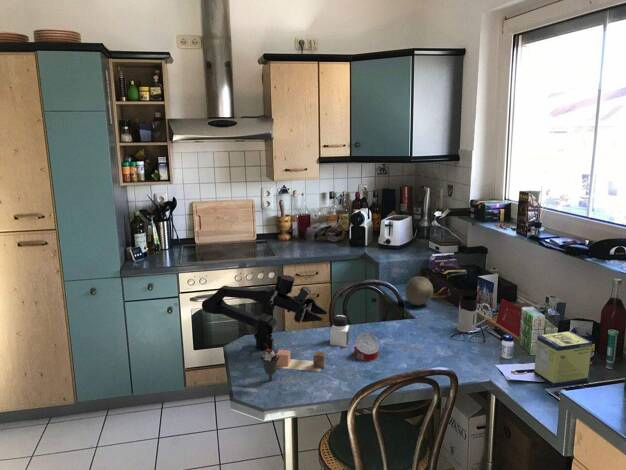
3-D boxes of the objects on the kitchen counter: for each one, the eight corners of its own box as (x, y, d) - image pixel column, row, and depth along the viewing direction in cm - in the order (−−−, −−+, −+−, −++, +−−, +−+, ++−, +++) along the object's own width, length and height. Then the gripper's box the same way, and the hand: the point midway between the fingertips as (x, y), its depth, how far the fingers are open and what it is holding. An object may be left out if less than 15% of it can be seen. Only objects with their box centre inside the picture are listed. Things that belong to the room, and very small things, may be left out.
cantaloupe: (404, 308, 261) (405, 280, 258) (404, 299, 275) (405, 272, 272) (433, 310, 259) (434, 281, 256) (431, 301, 273) (433, 274, 269)
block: (276, 365, 197) (276, 354, 196) (279, 360, 201) (278, 349, 200) (287, 366, 196) (287, 355, 195) (290, 361, 200) (290, 350, 200)
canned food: (375, 363, 212) (387, 344, 209) (367, 370, 203) (380, 351, 200) (353, 346, 216) (365, 327, 213) (344, 353, 207) (357, 333, 204)
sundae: (261, 379, 189) (260, 341, 185) (279, 378, 189) (279, 340, 186) (261, 388, 182) (260, 348, 179) (279, 387, 183) (279, 348, 180)
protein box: (588, 381, 187) (593, 341, 184) (553, 387, 183) (557, 346, 180) (566, 368, 197) (571, 330, 194) (532, 374, 193) (536, 335, 190)
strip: (268, 369, 196) (268, 354, 195) (273, 360, 204) (273, 346, 202) (322, 373, 192) (322, 358, 191) (325, 364, 200) (325, 349, 199)
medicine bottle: (346, 347, 216) (347, 320, 213) (330, 346, 217) (330, 319, 215) (349, 340, 223) (349, 314, 220) (332, 339, 224) (333, 313, 222)
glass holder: (460, 324, 241) (462, 293, 238) (491, 330, 233) (493, 299, 230) (453, 329, 234) (455, 298, 231) (485, 337, 226) (487, 304, 223)
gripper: (287, 289, 196) (325, 303, 193) (299, 279, 214) (334, 292, 211) (279, 316, 198) (317, 330, 195) (292, 304, 216) (327, 317, 213)
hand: (324, 316), depth 203 cm, fingers open, 9 cm apart
